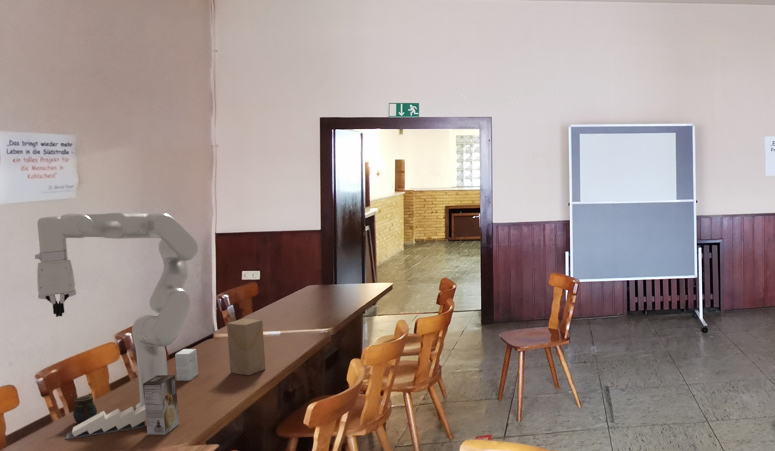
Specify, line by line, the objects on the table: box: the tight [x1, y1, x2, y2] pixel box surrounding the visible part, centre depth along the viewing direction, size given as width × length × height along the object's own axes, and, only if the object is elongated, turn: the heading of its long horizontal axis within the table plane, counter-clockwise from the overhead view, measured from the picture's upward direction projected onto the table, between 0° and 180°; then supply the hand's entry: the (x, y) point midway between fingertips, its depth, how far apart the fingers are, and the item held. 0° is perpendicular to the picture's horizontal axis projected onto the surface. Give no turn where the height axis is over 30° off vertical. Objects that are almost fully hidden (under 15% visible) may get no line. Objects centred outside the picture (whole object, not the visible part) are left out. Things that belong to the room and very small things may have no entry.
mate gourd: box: [69, 393, 98, 424], centre depth 234 cm, size 7×8×10 cm
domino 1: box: [71, 410, 107, 437], centre depth 224 cm, size 5×2×10 cm
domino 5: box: [130, 415, 146, 428], centre depth 229 cm, size 5×2×10 cm
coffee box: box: [143, 374, 180, 436], centre depth 223 cm, size 9×6×16 cm
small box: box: [174, 348, 199, 382], centre depth 281 cm, size 8×6×10 cm
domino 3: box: [102, 406, 135, 432], centre depth 227 cm, size 5×2×10 cm
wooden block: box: [226, 318, 267, 376], centre depth 285 cm, size 10×10×20 cm
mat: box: [65, 421, 146, 441], centre depth 226 cm, size 6×23×1 cm, turn 110°
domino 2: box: [87, 408, 122, 434], centre depth 225 cm, size 5×2×10 cm
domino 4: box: [116, 405, 146, 430], centre depth 228 cm, size 5×2×10 cm
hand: (59, 315), depth 222 cm, fingers closed
